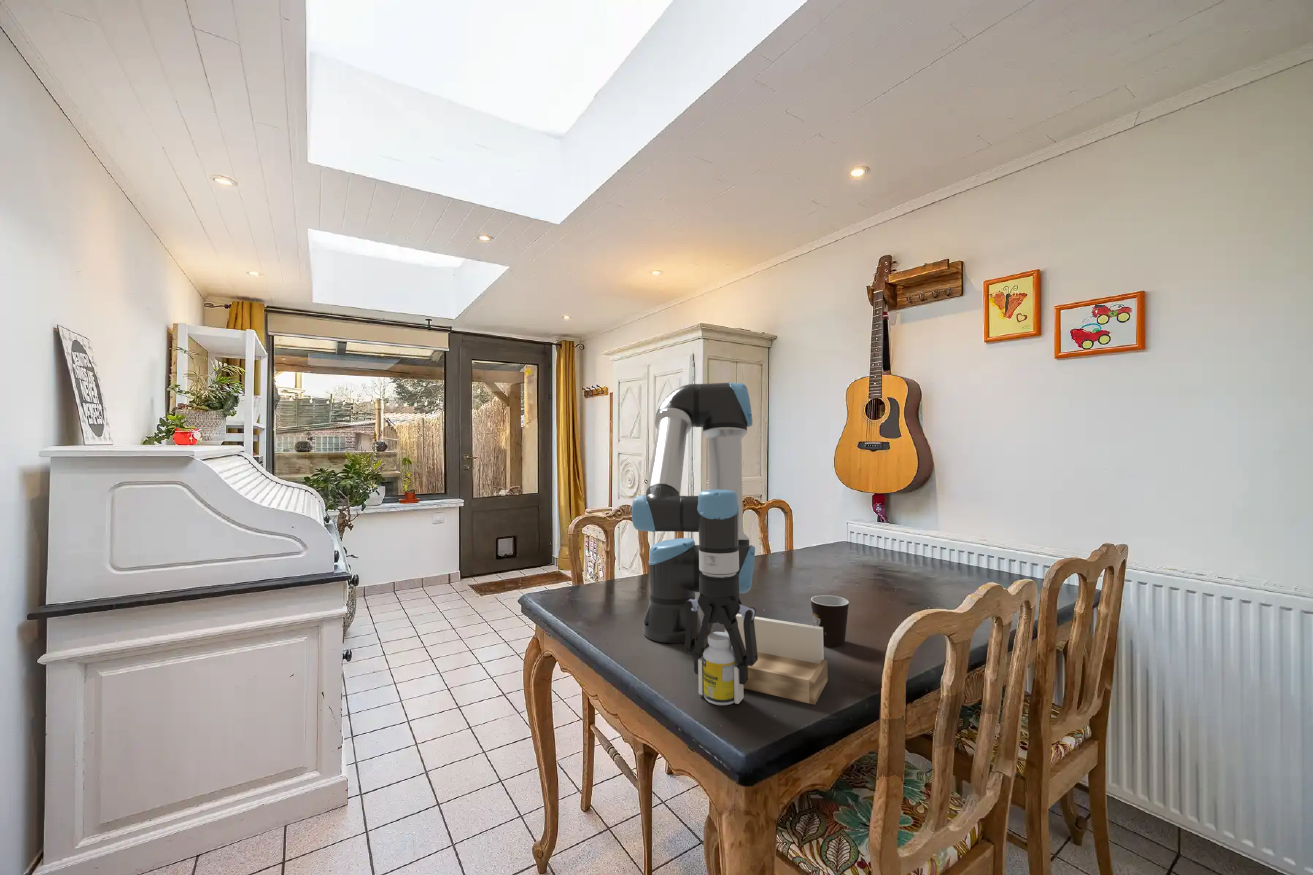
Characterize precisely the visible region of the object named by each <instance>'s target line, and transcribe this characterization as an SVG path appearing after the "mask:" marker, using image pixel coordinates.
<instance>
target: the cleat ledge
mask: <svg viewBox="0 0 1313 875" xmlns="http://www.w3.org/2000/svg"><path fill="white" fill-rule="evenodd" d="M757 654H758V660H757V661H756V662H755V664H754V665H753V666H748V681H747V682H746V684H745V685H743V689H744V690H745V689H746V690H749V691H754V692H759V693H762V694H766V695H771V696H776V697H780V698H784V699H788V700H793V701H796V702H801V703H806V704H810V705H814V706H815V705H816V704H817V702H818V700H819V698H820V696H821V694H822V692H823V690H824V689H825V686H826V684H827V682H828V681H829V680H828V660H827V659H824V660H822V661H821V662H820V664H817V663H812V662H807V661H801V660H796V659H791V658H786V657H781V656H776V655H770V654H765V653H760V652H757Z"/></svg>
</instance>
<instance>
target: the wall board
mask: <svg viewBox="0 0 1313 875" xmlns="http://www.w3.org/2000/svg"><path fill="white" fill-rule="evenodd" d="M736 618H737V621H738V628H739V631H740V635H741V638H742V641H743V644H744V647H745V650H746V646H745V636H744V626H743V622H744V619H742V615H741V613H738V614H737V615H736ZM754 625H755V635H756V645H757V652H760V653H765V654H770V655H776V656H781V657H786V658H791V659H796V660H801V661H807V662H812V663H817V664H820V662H821V661H822V660H825V658H824V657H825V656H824V655H825V654H824V649H825V648H824V647H825V646H823V627H818V626H814V625H810V624H805V623H799V622H792V621H787V620H781V619H773V618H767V617H761V616H755V618H754ZM724 632H726V633H728V632H727V631H726V629H725V628H724ZM731 647H732V646H731Z"/></svg>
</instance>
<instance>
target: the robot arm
mask: <svg viewBox="0 0 1313 875" xmlns="http://www.w3.org/2000/svg"><path fill="white" fill-rule="evenodd" d="M749 395H750V394H749V390H748V387H747V385H746V384H745V383H743V382H731V381H730V382H729V381H728V382H718V383H716V382H715V383H714V382H711V383H689V384H684V385H682V386H680V387H678V388H676V389H674V390H673V391H672V392H671V393H669V394H668V395H667V396H666V397H665V399H663V401H662V402H661V403H660V405H659V407H658V409H657V410H656V413H655V419H654V420H655V421H654V427H655V428H656V435H655V440H654V445H653V452H652V458H651V460H650V461H651V463H650V467H649V473H648V479H647V484H646V488H645V494H642V495H636V496H635V497H634V499H632V505H631V521H632V525H633V528H634V529H635V530H636V531H640V532H651V533H655V532H680V533H681V532H685V533H687V532H688V533H698V544H696V542H695V540H694V539H693V538H691V537H690V538H688V537H680V538H671V539H666V540H663V541H662V540H661V541H659V542H656V543H654V544H652V546H651V547H650V549H649V556H648V557H649V559H648V560H649V561H648V565H649V566H648V568H649V569H648V571H649V573H648V574H649V578H648V579H649V603H648V608H647V610H646V614H645V615H644V616H645V617H644V620H643V624H642V628H643V630H642V631H643V635H644V637H645V638H647V639H650V640H652V641H655V642H659V643H664V644H665V643H666V644H667V643H668V644H678V643H684V652H685V653H687V654H690V655H692V656H693V663H694V664H693V665H694V666H693V668H694V669H693V670H694V674H695V675H698V676H697V677H698V695H701V696H704V680H703V653H704V650H705V649H706V648H707V647H706V646H707V644H708V635H709V634H710V633H711V631H712V627H713V624H714V623H718V624H720V625H723V626H724V630H725V629H726V631H727V632H728V635H729V638H730V641H731V645H732V648H733V651H734V654H735V657H736V660H737V664H736V665H735V666H734V703H733V704H737V705H739V704H740V702H742V700H743V699H744V697H745V696H744V688H743V685H745V684H746V682H747V681H748V666H753V665H754V664H755V662H756V661H757V660H758V654H757V645H756V635H755V625H754V618H755V617H756V613H757V609H756V608H755V607H754V606H751V607H748V606H746V605H744V604H743V603H742V601H741V599H740V594H746V593H748V592H749V591H750V590H751V588H752V582H753V576H754V567H755V556H756V555H755V554H756V547H755V545H752V544H751V545H750V538H749V536H747V535H746V533H745V532H744V516H743V515H744V514H743V512H744V510H743V509H744V507H743V505H744V504H743V463H742V462H743V461H742V460H743V457H742V456H743V455H742V453H743V452H742V451H743V450H742V444H743V443H742V440H743V438H744V437H745V436H746V435H747V434H748V428H750V427H752V426H753V416H752V407H751V400H750V396H749ZM692 428H702V434H703V435H704V436H705V437H706V438H707V440H708V489H706V490H701V491H700V492H698V493H699V494H698V495H681V491H682V490H681V489H682V478H683V471H684V463H685V462H684V460H685V453H686V443H687V436H688V435H687V434H689V432H690V431H691V429H692ZM696 593H699V596H698V598H696ZM699 609H700V610H701V611H702V613H703V614H704V615H703V618H701V614H700V612H699ZM739 613H740V614H741V615H742V619H744V622H743V626H744V636H745V646H746V650H745V647H744V644H743V641H742V638H741V635H740V631H739V628H738V621H737V618H736V615H737V614H739Z"/></svg>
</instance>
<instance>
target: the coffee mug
mask: <svg viewBox="0 0 1313 875" xmlns="http://www.w3.org/2000/svg"><path fill="white" fill-rule="evenodd" d="M810 602H811V603H810V605H811V610H812V617H813V624H814V625H813V626H818V627H823V647H825V648H835V649H837V648H842V647H845V643H846V635H847V625H848V624H847V623H848V614H849V604H850V601H849V600H848V599H847V598H844V597H841V596H837V595H831V594H830V595H828V594H826V595H823V594H822V595H814V596H812V597H811V598H810Z"/></svg>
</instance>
